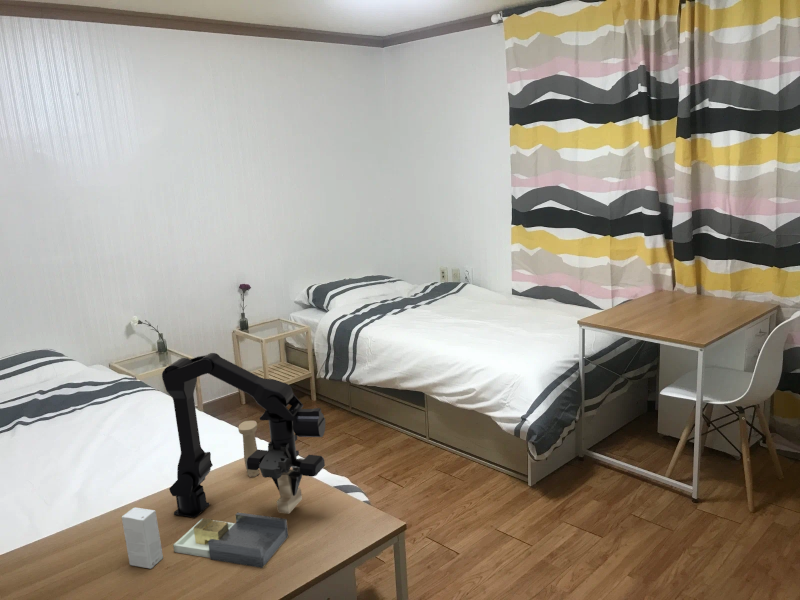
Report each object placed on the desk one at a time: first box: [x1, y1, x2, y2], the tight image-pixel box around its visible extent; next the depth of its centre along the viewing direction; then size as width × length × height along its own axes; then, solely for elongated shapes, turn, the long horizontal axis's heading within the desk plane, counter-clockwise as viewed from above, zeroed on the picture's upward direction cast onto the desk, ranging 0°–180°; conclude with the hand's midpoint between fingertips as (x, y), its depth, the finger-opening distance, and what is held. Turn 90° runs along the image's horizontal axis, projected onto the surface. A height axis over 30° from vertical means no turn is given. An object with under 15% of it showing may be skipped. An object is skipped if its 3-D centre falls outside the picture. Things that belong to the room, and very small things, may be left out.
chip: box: [203, 520, 229, 541], centre depth 146 cm, size 4×4×2 cm
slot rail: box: [208, 512, 289, 569], centre depth 144 cm, size 13×12×4 cm
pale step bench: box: [276, 468, 303, 514], centre depth 156 cm, size 3×7×9 cm, turn 162°
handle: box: [238, 420, 260, 478], centre depth 177 cm, size 5×6×15 cm
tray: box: [173, 518, 236, 559], centre depth 148 cm, size 10×11×2 cm
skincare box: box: [121, 507, 164, 570], centre depth 140 cm, size 6×4×12 cm
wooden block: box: [194, 518, 214, 545], centre depth 147 cm, size 4×4×2 cm
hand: (288, 494), depth 156 cm, fingers closed on pale step bench, 3 cm apart
